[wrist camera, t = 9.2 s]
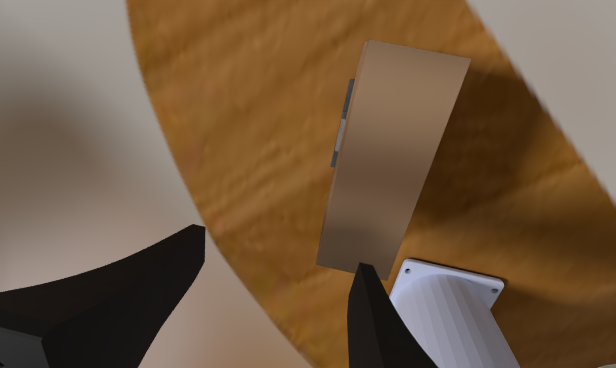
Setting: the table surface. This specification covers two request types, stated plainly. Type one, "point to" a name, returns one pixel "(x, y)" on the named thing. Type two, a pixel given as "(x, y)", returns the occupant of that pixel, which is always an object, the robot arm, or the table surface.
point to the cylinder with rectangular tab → (608, 366)
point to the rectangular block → (386, 152)
